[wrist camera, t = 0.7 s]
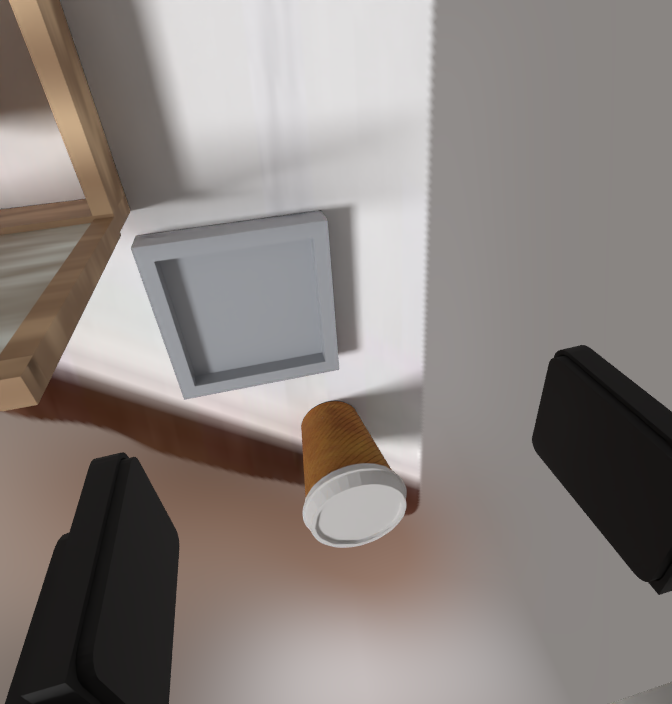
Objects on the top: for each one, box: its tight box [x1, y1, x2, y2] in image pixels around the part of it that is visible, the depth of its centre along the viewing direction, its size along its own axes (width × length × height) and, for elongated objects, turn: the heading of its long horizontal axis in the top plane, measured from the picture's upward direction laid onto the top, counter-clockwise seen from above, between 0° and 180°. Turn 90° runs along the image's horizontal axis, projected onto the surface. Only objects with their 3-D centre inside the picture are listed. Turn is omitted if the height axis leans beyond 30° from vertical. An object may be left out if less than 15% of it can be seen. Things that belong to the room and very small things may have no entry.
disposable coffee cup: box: [301, 401, 406, 548], centre depth 43 cm, size 10×10×12 cm
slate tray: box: [131, 210, 339, 400], centre depth 37 cm, size 14×14×2 cm
